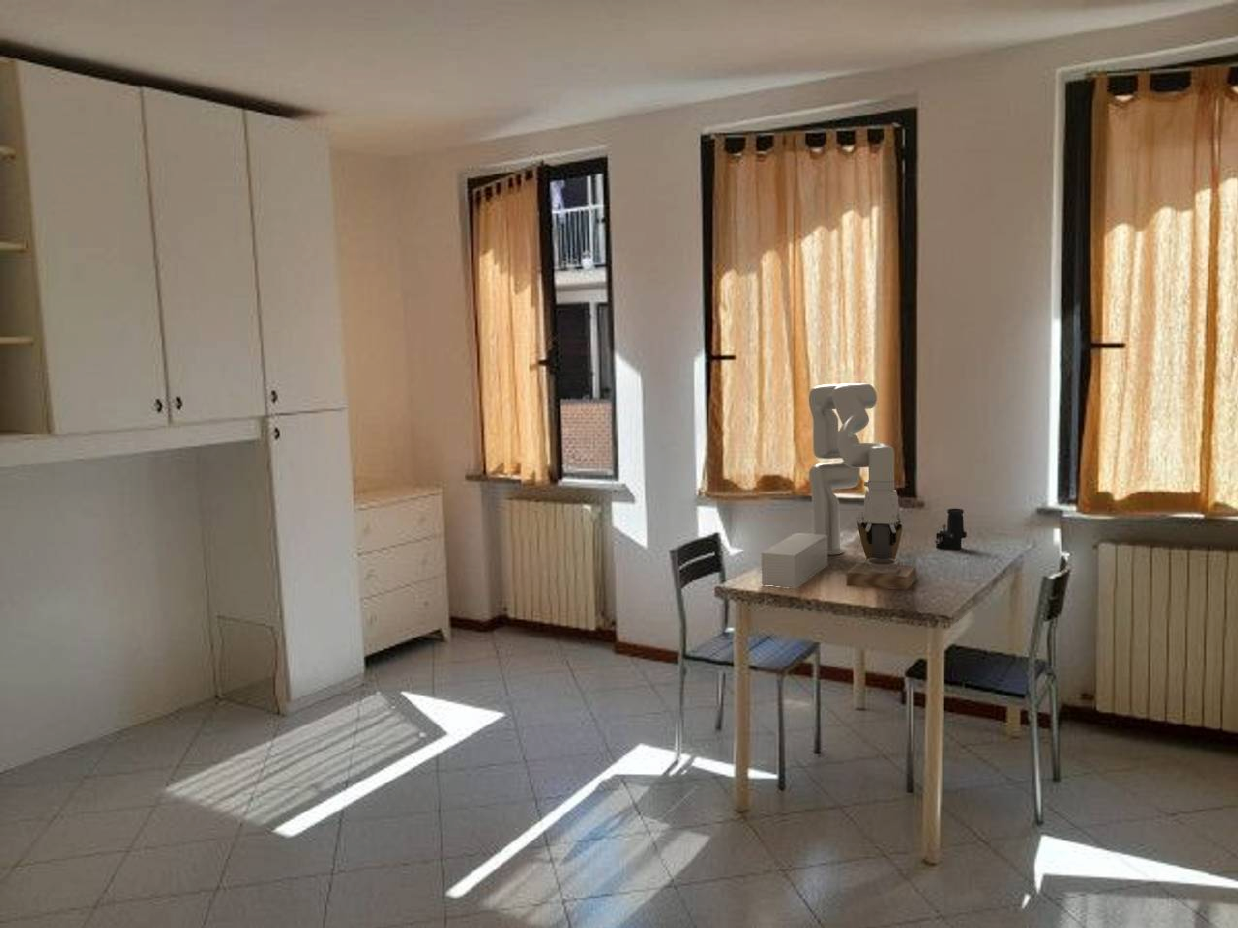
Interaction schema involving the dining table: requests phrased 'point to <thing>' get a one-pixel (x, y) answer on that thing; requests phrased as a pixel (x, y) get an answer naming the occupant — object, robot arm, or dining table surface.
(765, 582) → the stack of papers
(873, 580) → the wooden block
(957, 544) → the scope
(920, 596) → the dining table surface
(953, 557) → the dining table surface
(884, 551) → the lens
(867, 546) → the plant pot
